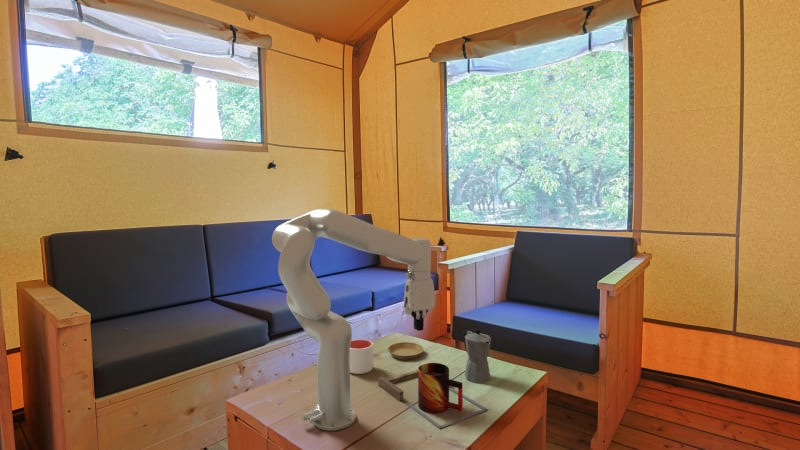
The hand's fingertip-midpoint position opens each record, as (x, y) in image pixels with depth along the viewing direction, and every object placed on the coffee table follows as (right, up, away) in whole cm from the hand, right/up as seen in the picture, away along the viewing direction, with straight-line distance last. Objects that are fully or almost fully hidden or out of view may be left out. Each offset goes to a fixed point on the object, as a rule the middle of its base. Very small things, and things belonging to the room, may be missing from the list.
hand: (418, 329), depth 143 cm
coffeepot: (+21, -20, +12) cm, 32 cm away
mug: (+6, -22, -9) cm, 25 cm away
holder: (-2, -21, +5) cm, 21 cm away
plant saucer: (-4, -19, +34) cm, 39 cm away
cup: (-21, -20, +19) cm, 35 cm away
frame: (+8, -22, -10) cm, 25 cm away
